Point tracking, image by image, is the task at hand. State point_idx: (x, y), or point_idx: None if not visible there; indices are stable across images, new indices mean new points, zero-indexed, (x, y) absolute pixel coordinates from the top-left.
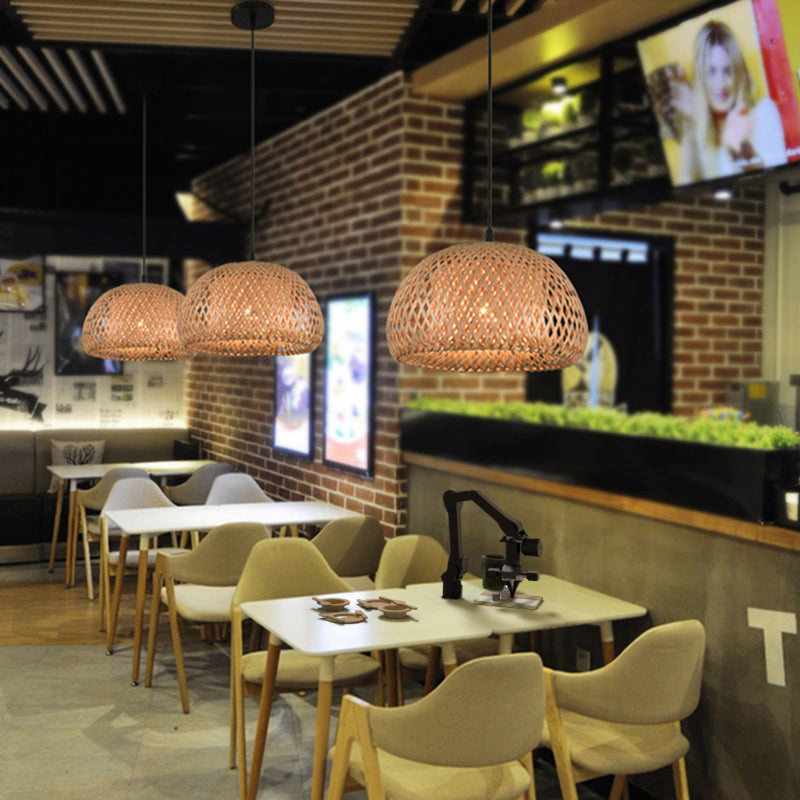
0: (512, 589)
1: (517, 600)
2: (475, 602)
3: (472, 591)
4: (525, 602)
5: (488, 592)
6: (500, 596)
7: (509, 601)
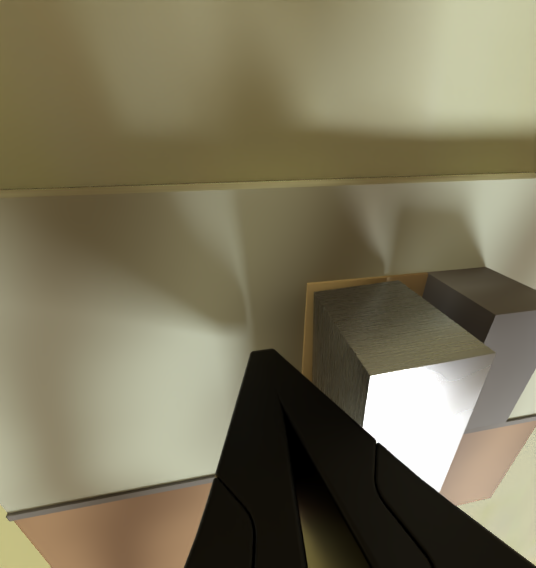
0: (304, 506)
1: (216, 400)
2: None
3: (522, 491)
4: (85, 362)
5: (469, 488)
6: None
7: (290, 316)
